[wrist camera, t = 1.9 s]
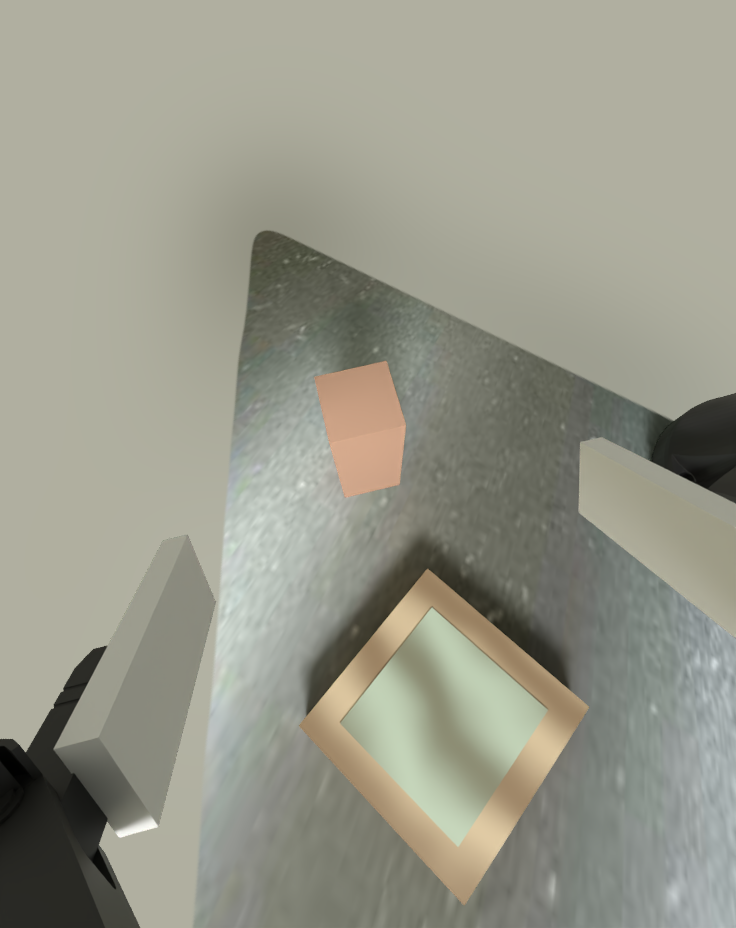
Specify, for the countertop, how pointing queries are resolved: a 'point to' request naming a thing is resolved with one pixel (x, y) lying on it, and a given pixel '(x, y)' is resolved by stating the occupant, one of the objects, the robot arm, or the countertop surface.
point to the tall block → (363, 426)
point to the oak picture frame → (445, 730)
